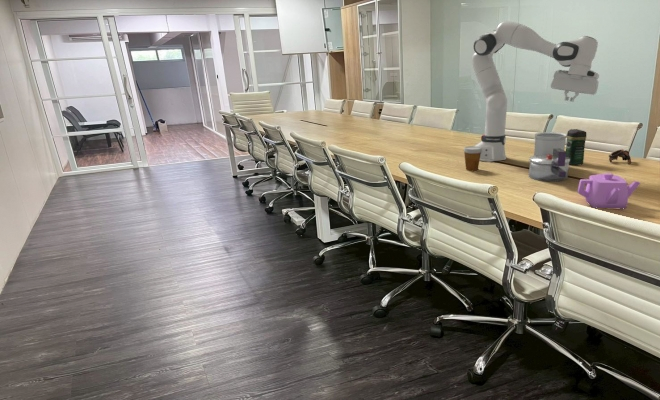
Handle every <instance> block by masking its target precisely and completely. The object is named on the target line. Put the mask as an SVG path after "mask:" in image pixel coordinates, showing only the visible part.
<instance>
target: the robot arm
mask: <svg viewBox="0 0 660 400" xmlns="http://www.w3.org/2000/svg"><path fill="white" fill-rule="evenodd" d="M505 45H508V46H509V47H510V46H511V47H514V48H517V49H521V50H528V51H532V52H537V53H540V54H541V55H545V56H548V57H550V58H553V59H554V60H555V61H556V62H557V63H559V65H561V67H564V68H565V67H566V68H569V69H568V70H562V69H558V70H556V71H554V73H553V78H552V81H551V83H550V88H551V89H554V90H559V91H564V92H563V93H564V101H567V102H572V103H573V102H575V99H576V98H577V97H578V96H579V95H580V94H586V95H591V96H594V95H596V94H597V92H598V89H599V80H598V79H599V78H600V74H599V73H597V72H595V71H594V70H592V69H591V68H592V63H593V61H594V59H595V57H596V53H597V51H598V50H597V49H598V46H599V44H598V40H597V39H596V38H593V37H591V36H588V35H582V36H580V37H579V38H576V39H573V40H568V41H562V42H559V43H558V44H556V43H553V42H551V41H548V40H546V39H544V38H543V37H541V36H540V35H539V33H537V32H536V31H535V30H534V29H532V28H530V27H528V26H527V25H525V24H522V23H521V24H520V23H518V22H515V21H508V20H504V21H502V22H500V23H498V26H497V27H496V29H494V30H492V31H491V30H490V31H487V32H486V33H484V34H482V35H480V36H479V37H477V38H476V40H475V41H474V42H473V50H474V53H473V54H472V56H471V63H472V68H473V71H474V73H475V76H476V79H477V82H478V84H479V88H480V89H481V93H482V95H483V97H484V98H483V99H485V103H486V104H485V121H484V122H485V125H484V133H483V134H482V135H481V136H480V140H481V141H479V142H478V143H476V144H475V145H474V146H475V147H481V150H482V151H481V155H480V161H479V162H488V163H490V162H498V161H504V160H506V159H507V155H506V148H505V147H506V138H507V137H506V121H507V119H506V118H507V113H508V111H507V109H508V98H507V96H506V93H505V90H504V87H503V85H502V81H501V79H500V76H499V73H498V70H497V68H496V64H495V62H494V58H493V55H494V54H497V53H498V52H499V50H501V49H502V48H503V47H504V46H505ZM571 92H573V93H574V95H573V96H571V97H570V96H568V94H569V93H571Z"/></svg>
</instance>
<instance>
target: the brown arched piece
mask: <svg viewBox="0 0 660 400" xmlns="http://www.w3.org/2000/svg"><path fill="white" fill-rule="evenodd" d="M618 158H622V161H625V162H626V161H627V164H628V166H630V165H631V164H632V159H631V156H630V152H629V151H628V150H627V149H626V150H624V149H618V150H615V151H613V152H611V153H610V154H608V161H609V162H610V163H611V162H612V161H615V160H616V161H618V160H619V159H618Z"/></svg>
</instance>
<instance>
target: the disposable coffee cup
mask: <svg viewBox="0 0 660 400" xmlns="http://www.w3.org/2000/svg"><path fill="white" fill-rule="evenodd" d="M462 151H463V153H464V161H465V170H466V171H468V170H469V172H471V171H472V172H474V171H478V170H479V166H480V162H481V161H480V155H481V151H482V150H481V147H475V145H474V146H473V145H472V146H466V147H464V149H463V150H462Z"/></svg>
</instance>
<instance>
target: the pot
mask: <svg viewBox="0 0 660 400" xmlns="http://www.w3.org/2000/svg"><path fill="white" fill-rule="evenodd" d="M569 165H570V164H569V163H566V164H565V166H556V165H549V164H538V163H534V162H531V161H530V160H529V171H528V178H530V179H532V180H535V181H542V182H561V181H566V180H567V179H568V177H569V176H568V174H569V168H570V167H569Z"/></svg>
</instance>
